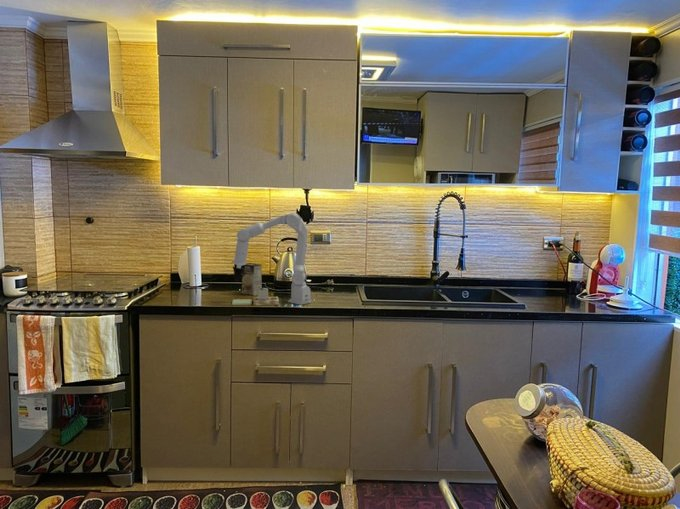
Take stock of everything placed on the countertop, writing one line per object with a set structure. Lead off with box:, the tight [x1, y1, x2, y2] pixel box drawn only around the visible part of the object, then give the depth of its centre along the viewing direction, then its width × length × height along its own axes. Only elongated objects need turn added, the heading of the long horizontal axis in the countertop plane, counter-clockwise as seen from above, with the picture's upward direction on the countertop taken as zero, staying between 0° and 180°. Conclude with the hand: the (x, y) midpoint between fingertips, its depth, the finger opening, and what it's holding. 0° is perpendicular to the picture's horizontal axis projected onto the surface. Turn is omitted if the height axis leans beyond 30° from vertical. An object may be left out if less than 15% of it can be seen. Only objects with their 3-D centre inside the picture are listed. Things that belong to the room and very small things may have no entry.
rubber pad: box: [231, 298, 252, 306], centre depth 229 cm, size 9×9×1 cm
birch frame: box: [253, 296, 280, 306], centre depth 230 cm, size 12×10×2 cm
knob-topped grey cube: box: [257, 287, 269, 300], centre depth 230 cm, size 5×5×7 cm
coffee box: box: [241, 262, 263, 296], centre depth 252 cm, size 9×6×16 cm
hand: (237, 280), depth 232 cm, fingers open, 7 cm apart
